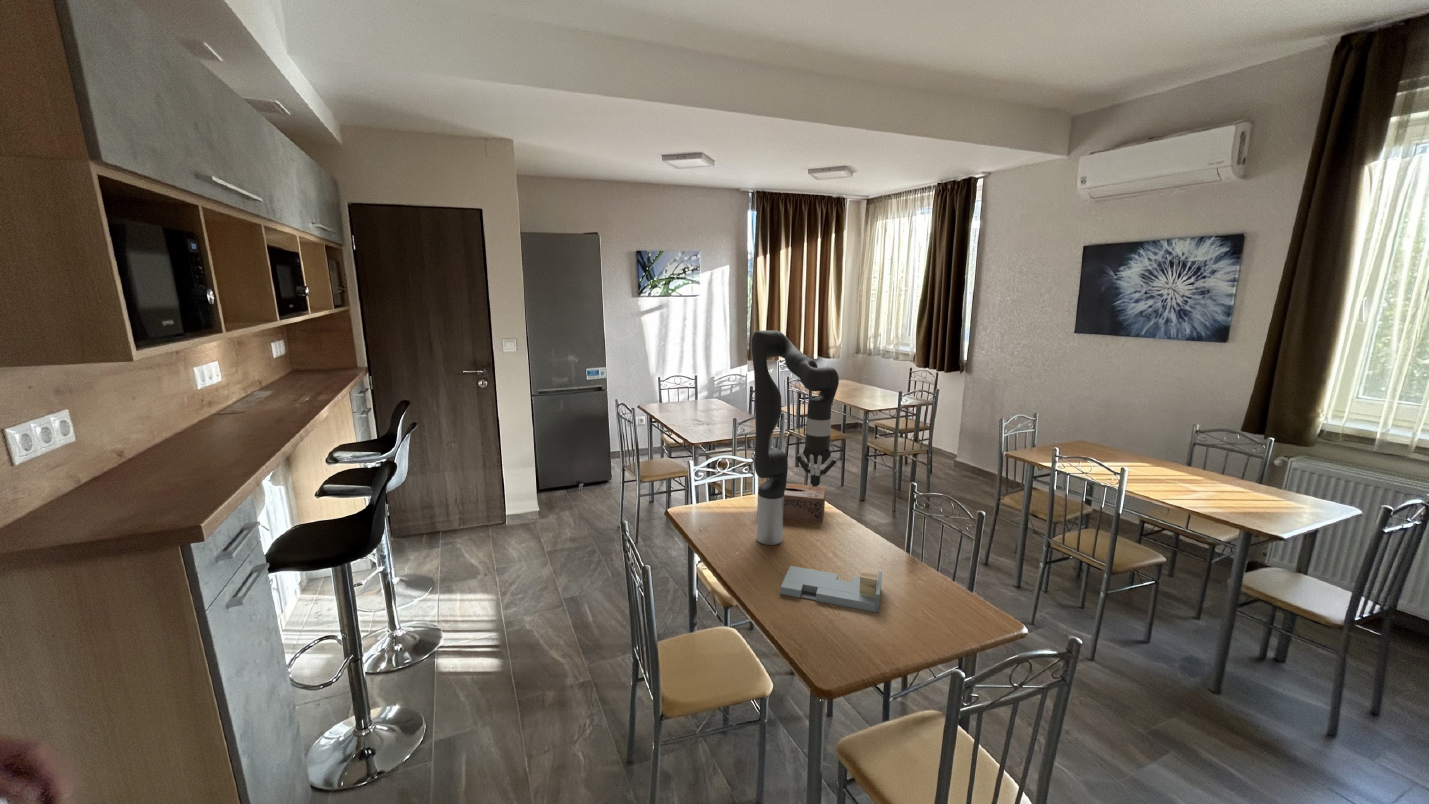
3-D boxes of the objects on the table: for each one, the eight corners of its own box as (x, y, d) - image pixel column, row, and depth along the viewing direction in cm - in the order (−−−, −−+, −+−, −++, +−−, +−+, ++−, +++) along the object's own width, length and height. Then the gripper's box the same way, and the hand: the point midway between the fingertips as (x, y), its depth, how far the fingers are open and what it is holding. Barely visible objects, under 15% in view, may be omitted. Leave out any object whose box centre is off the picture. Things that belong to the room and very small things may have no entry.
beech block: (860, 585, 168) (861, 570, 167) (876, 588, 167) (877, 572, 166) (859, 592, 164) (860, 576, 163) (875, 595, 163) (876, 579, 162)
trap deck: (790, 572, 180) (790, 556, 179) (880, 588, 171) (882, 572, 170) (780, 594, 167) (780, 577, 166) (878, 612, 158) (879, 594, 157)
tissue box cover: (757, 516, 226) (758, 492, 224) (762, 503, 240) (763, 481, 238) (822, 523, 220) (823, 499, 219) (824, 509, 234) (825, 486, 232)
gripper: (841, 431, 174) (838, 484, 177) (799, 427, 178) (796, 479, 182) (838, 437, 167) (834, 492, 170) (794, 432, 171) (791, 487, 175)
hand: (815, 485), depth 176 cm, fingers closed
